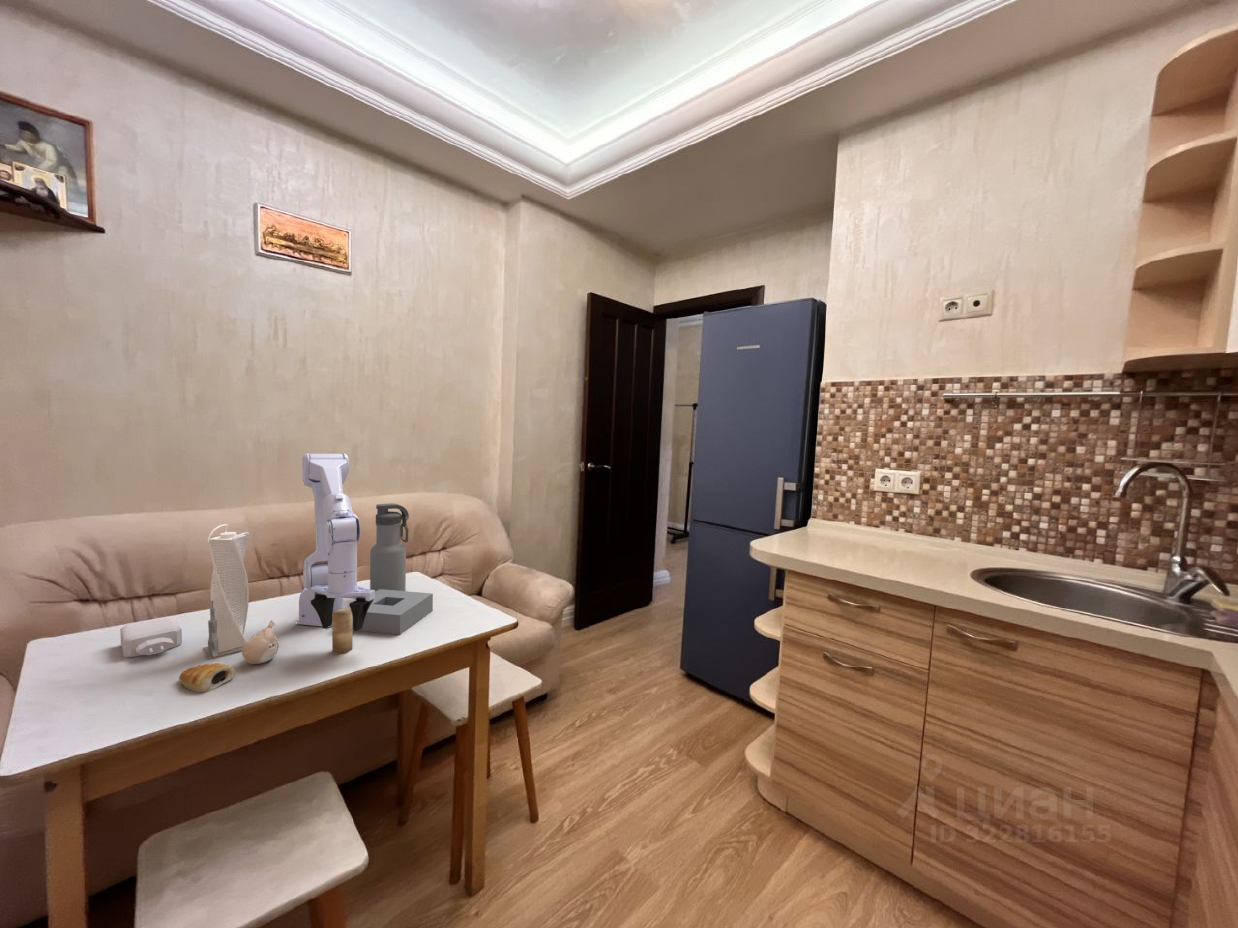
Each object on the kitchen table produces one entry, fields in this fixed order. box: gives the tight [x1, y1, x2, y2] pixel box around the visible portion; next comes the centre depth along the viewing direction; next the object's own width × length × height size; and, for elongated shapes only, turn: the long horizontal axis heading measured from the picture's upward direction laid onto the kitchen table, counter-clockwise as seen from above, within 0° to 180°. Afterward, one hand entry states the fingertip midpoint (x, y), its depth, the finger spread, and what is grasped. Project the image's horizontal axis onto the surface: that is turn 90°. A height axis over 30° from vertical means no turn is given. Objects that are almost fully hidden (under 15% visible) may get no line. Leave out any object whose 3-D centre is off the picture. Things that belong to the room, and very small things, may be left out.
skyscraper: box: [202, 523, 250, 661], centre depth 106 cm, size 8×8×28 cm
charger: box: [119, 615, 183, 659], centre depth 105 cm, size 5×9×15 cm
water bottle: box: [369, 503, 410, 591], centre depth 143 cm, size 10×10×28 cm
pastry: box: [178, 662, 236, 694], centre depth 93 cm, size 9×7×4 cm
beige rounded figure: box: [241, 619, 280, 665], centre depth 102 cm, size 7×6×8 cm
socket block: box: [343, 589, 434, 636], centre depth 126 cm, size 16×16×5 cm
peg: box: [331, 609, 354, 655], centre depth 108 cm, size 4×4×9 cm
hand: (342, 628), depth 108 cm, fingers open, 7 cm apart
